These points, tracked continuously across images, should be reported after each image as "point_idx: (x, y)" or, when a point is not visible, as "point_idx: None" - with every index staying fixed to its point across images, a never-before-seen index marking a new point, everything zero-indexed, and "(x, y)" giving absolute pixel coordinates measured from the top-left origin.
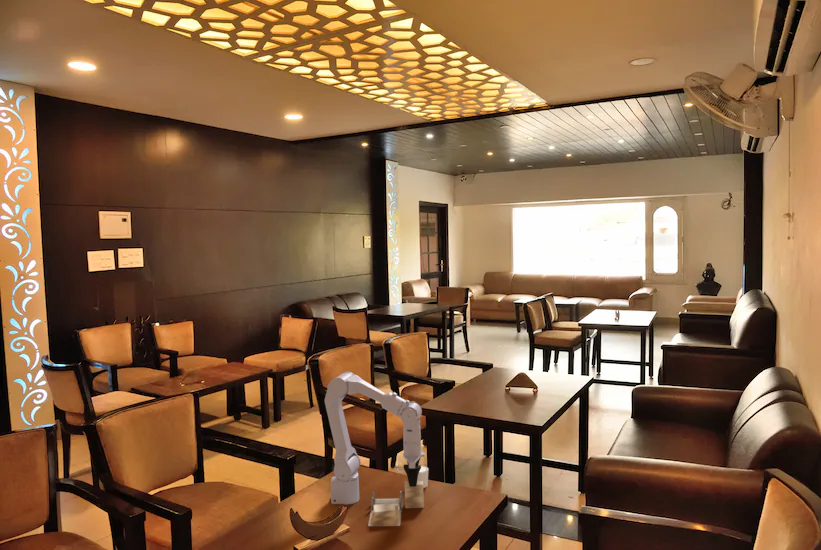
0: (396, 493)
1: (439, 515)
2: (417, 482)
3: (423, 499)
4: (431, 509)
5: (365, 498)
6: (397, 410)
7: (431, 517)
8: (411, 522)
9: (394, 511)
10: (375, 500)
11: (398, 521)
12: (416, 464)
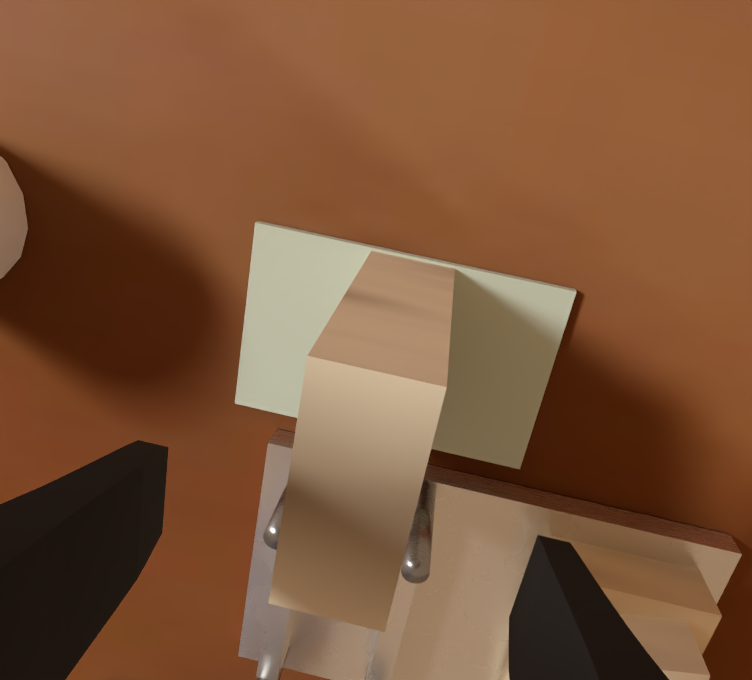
0: (63, 437)
1: (611, 113)
2: (344, 451)
3: (367, 271)
4: (446, 176)
5: (137, 661)
6: None
7: (624, 214)
8: (651, 424)
9: (701, 670)
10: (278, 675)
11: (655, 551)
12: (21, 595)
